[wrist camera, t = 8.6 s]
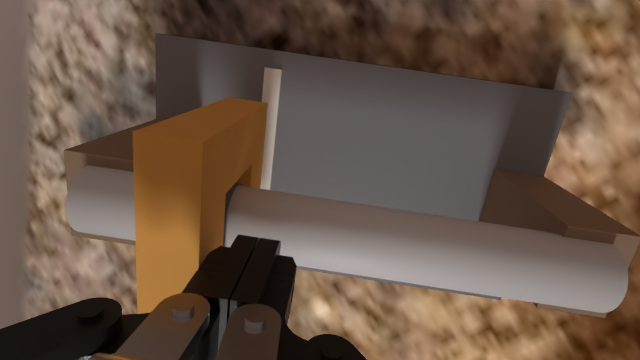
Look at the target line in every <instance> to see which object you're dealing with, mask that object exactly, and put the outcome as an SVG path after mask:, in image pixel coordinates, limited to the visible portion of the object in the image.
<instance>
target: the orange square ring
mask: <svg viewBox="0 0 640 360" xmlns="http://www.w3.org/2000/svg"><path fill="white" fill-rule="evenodd" d="M267 105H268V103H265V102H258V101H251V100H245V99H238V98H231V97H228V98H225V99H222V100H220V101H217V102H214V103H211V104H208V105H205V106H203V107H200V108H197V109H194V110H191V111H189V112H186V113H183V114H180V115H177V116H175V117H172V118H169V119H166V120H163V121H161V122H158V123H155V124H152V125H149V126H146V127H144V128H141V129H138V130H135V131H132V134H133V168H134V203H135V237H136V272H137V307H138V314H143V313H150V312H152V311H153V310H154V309H155V307H156V306H157V305H158V304H159V303H160V302H161V301H162V300H164V299H166V298H167V297H170V296H172V295H175V294H180V293H181V292H182V291H183V290H184V288H185V287H186V285H187V284H188V282H189V281H190V279H191V278H192V277H193V275H194V274H195V272H196V271H198V268H199V266H200V265H201V264H202V263H203V261H204V259H205V258H206V256H207V255H208V253H209V252H211V251H213V250H214V249H216V248H218V247H219V246H223V234H224V217H225V199H226V193H227V192H228V191H229V189H230V188H231V187H232V186H233V185H234V184H235V183H241V184H242V185H243V186H247V187H253V188H260V185H261V173H262V162H263V151H264V139H265V128H266V117H267Z"/></svg>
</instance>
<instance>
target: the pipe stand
mask: <svg viewBox="0 0 640 360" xmlns="http://www.w3.org/2000/svg"><path fill="white" fill-rule="evenodd" d="M572 94H573V93H569V92H563V91H557V90H551V89H544V88H537V87H530V86H523V85H516V84H509V83H502V82H495V81H488V80H481V79H474V78H467V77H460V76H453V75H446V74H439V73H432V72H425V71H418V70H411V69H404V68H397V67H390V66H383V65H376V64H369V63H362V62H355V61H348V60H341V59H334V58H327V57H320V56H313V55H306V54H299V53H292V52H285V51H278V50H271V49H264V48H257V47H250V46H243V45H236V44H229V43H222V42H215V41H208V40H201V39H194V38H187V37H180V36H173V35H165V34H157V33H156V119H155V120H152V121H149V122H146V123H143V124H140V125H137V126H134V127H131V128H128V129H125V130H122V131H120V132H117V133H114V134H111V135H108V136H105V137H102V138H99V139H96V140H93V141H90V142H87V143H84V144H81V145H78V146H75V147H72V148H69V149H66V150H64V156H65V167H66V178H67V189H68V194H67V198H66V216H67V220H68V222H69V224H70V226H71V233H72V236H79V237H85V238H92V239H98V240H105V241H111V242H118V243H124V244H130V245H136V237H135V203H134V168H133V134H132V131H135V130H138V129H141V128H144V127H146V126H149V125H152V124H155V123H158V122H161V121H163V120H166V119H169V118H172V117H175V116H177V115H180V114H183V113H186V112H189V111H191V110H194V109H197V108H200V107H203V106H205V105H208V104H211V103H214V102H217V101H220V100H222V99H225V98H228V97H231V98H238V99H245V100H251V101H258V102H265V103H268V105H267V117H266V128H265V139H264V151H263V162H262V173H261V185H260V188H253V187H247V186H243V185H242V184H241V183H235V184H234V185H233V186H232V187H231V188H230V189H229V191H228V192H227V193H226V199H225V217H224V234H223V246H224V247H230V246H231V245H232V243H233V242H234V240H235V238H236V237H237V235H238V234H239V235H246V236H252V237H259V238H266V239H272V240H279V241H281V247H280V255H283V256H289V257H293V259H294V261H295V263H296V266H297V268H298V269H304V270H311V271H317V272H324V273H330V274H336V275H343V276H349V277H356V278H362V279H369V280H375V281H382V282H388V283H395V284H401V285H407V286H414V287H420V288H427V289H433V290H440V291H446V292H453V293H459V294H465V295H472V296H478V297H485V298H491V299H498V300H501V297H502V298H508V299H515V300H521V301H527V302H533V303H534V305H535V306H536V307H537V308H543V309H549V310H556V311H562V312H569V313H575V314H582V315H588V316H595V317H601V318H605V317H606V315H607V313H608V312H611V311H613V310H614V309H616V308H617V307H618V306H619V305H620V304H621V302H622V301H623V299H624V297H625V295H626V292H627V288H628V268H629V266H630V263H631V261H632V259H633V257H634V255H635V253H636V251H637V248H638V246H639V244H640V235H638V234H637V233H635V232H633V231H632V230H630V229H628V228H627V227H625V226H624V225H622V224H620V223H619V222H617V221H615V220H614V219H612V218H611V217H609V216H607V215H606V214H604V213H602V212H601V211H599V210H598V209H596V208H594V207H593V206H591V205H589V204H588V203H586V202H584V201H583V200H581V199H580V198H578V197H576V196H575V195H573V194H571V193H570V192H568V191H567V190H565V189H563V188H562V187H560V186H558V185H557V184H555V183H554V182H552V181H550V180H549V179H547V178H545V177H544V174H545V171H546V168H547V165H548V162H549V160H550V157H551V154H552V151H553V148H554V145H555V142H556V139H557V137H558V134H559V131H560V128H561V125H562V122H563V119H564V117H565V114H566V111H567V108H568V105H569V102H570V99H571V96H572Z"/></svg>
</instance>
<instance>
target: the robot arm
mask: <svg viewBox="0 0 640 360" xmlns="http://www.w3.org/2000/svg"><path fill="white" fill-rule="evenodd" d="M280 247H281V241H279V240H272V239H266V238H259V237H252V236H246V235H239V234H238V235H237V237H236V238H235V240H234V242H233V243H232V245H231V246H230V247H224V246H219V247H218V248H216V249H214V250H213V251H211V252H209V253H208V255H207V256H206V258H205V259H204V261H203V263H202V264H201V265H200V266H199V268H198V271H196V272H195V274H194V275H193V277H192V278H191V279H190V281H189V282H188V284H187V285H186V287H185V288H184V290H183V291H182V292H181V293H180V294H175V295H172V296H170V297H167V298H166V299H164V300H162V301H161V302H160V303H159V304H158V305H157V306H156V307H155V309H154V310H153V311H152V312H150V313H143V314H129V315H122V308H121V305H120V304H119V303H118V302H117V301H115V300H113V299H109V298H90V299H86V300H82V301H79V302H76V303H74V304H71V305H68V306H65V307H62V308H59V309H56V310H54V311H51V312H48V313H45V314H42V315H39V316H37V317H34V318H31V319H28V320H25V321H22V322H19V323H17V324H14V325H11V326H8V327H5V328H2V329H0V360H366V358H365V357H364V356H363V355H362V354H361V353H360V352H359V351H358V350H357V349H356V348H355V347H354V345H353V344H351V343H350V342H349V341H348V340H346V339H344V338H342V337H340V336H337V335H332V334H322V335H317V336H315V337H313V338H311V339H310V340H309V341H307V340H304V339H302V338H300V337H298V336H297V335H295V334H294V333H293V332H292V331H291V330H290V329H289V328H288V326H287V322H288V318H289V313H290V309H291V305H292V298H293V291H294V283H295V275H296V268H297V266H296V263H295V261H294V259H293V257H289V256H283V255H280Z"/></svg>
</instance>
